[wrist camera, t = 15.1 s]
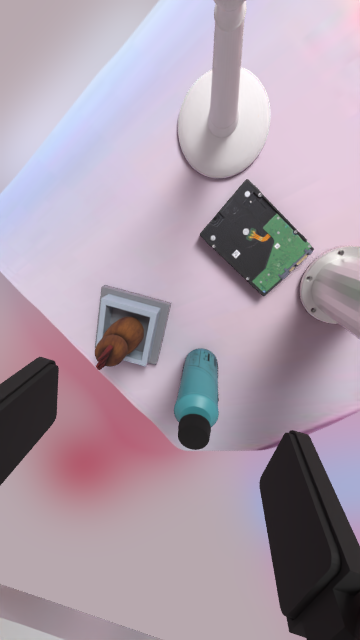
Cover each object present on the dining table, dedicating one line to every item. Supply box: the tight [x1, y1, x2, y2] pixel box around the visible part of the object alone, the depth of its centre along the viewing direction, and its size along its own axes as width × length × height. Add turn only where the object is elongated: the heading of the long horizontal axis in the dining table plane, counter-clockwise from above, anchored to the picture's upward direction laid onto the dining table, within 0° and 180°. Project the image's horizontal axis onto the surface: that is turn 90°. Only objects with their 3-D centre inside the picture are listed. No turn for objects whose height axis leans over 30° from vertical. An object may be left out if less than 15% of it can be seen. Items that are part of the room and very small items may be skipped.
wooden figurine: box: [95, 316, 144, 370], centre depth 38 cm, size 7×6×15 cm
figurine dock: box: [95, 285, 171, 367], centre depth 45 cm, size 13×13×4 cm
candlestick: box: [178, 0, 271, 179], centre depth 20 cm, size 13×13×30 cm
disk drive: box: [200, 179, 314, 296], centre depth 37 cm, size 10×3×15 cm
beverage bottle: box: [174, 349, 219, 450], centre depth 38 cm, size 6×7×20 cm
